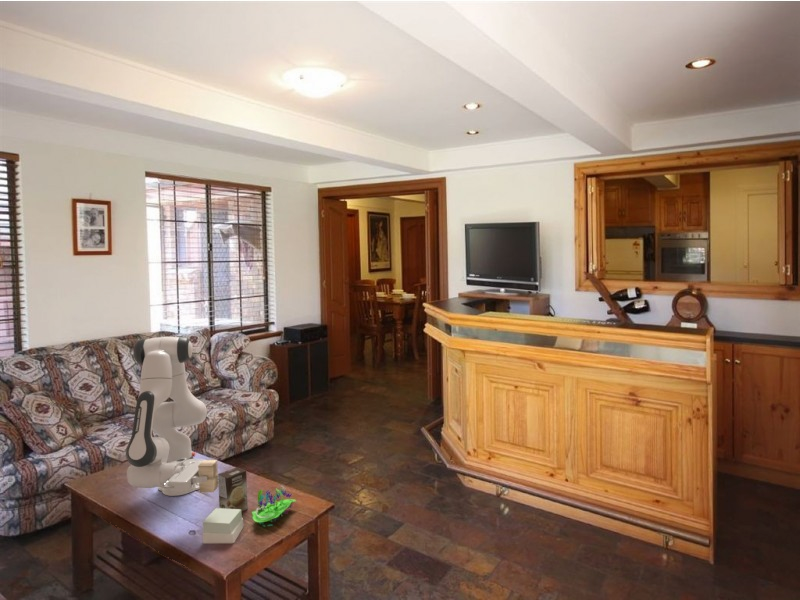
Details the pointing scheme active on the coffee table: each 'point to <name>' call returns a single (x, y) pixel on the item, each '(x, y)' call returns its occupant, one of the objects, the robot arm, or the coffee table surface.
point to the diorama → (271, 506)
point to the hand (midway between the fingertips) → (210, 474)
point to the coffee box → (233, 489)
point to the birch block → (211, 471)
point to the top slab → (222, 521)
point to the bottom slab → (223, 535)
